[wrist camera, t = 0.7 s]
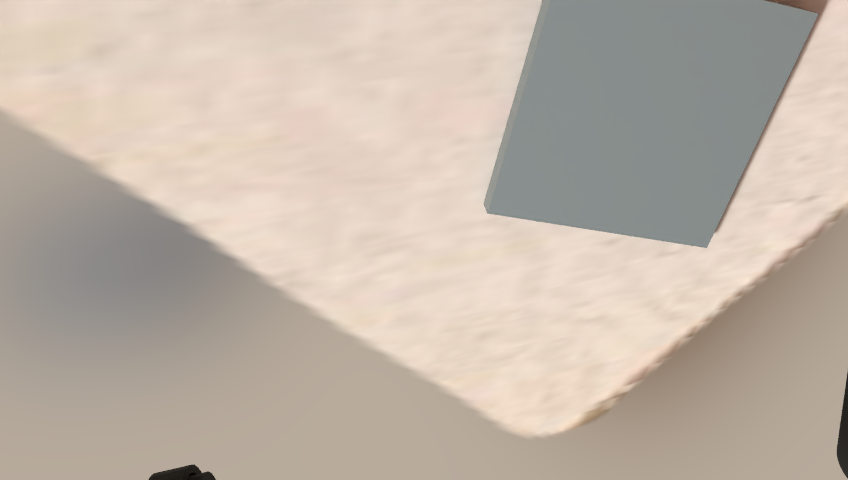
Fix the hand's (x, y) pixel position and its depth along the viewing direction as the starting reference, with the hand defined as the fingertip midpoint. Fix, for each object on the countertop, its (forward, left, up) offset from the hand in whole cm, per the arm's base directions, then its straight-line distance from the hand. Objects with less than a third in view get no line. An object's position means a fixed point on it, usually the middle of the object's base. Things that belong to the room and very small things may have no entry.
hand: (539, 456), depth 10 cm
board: (+1, +14, -28) cm, 31 cm away
